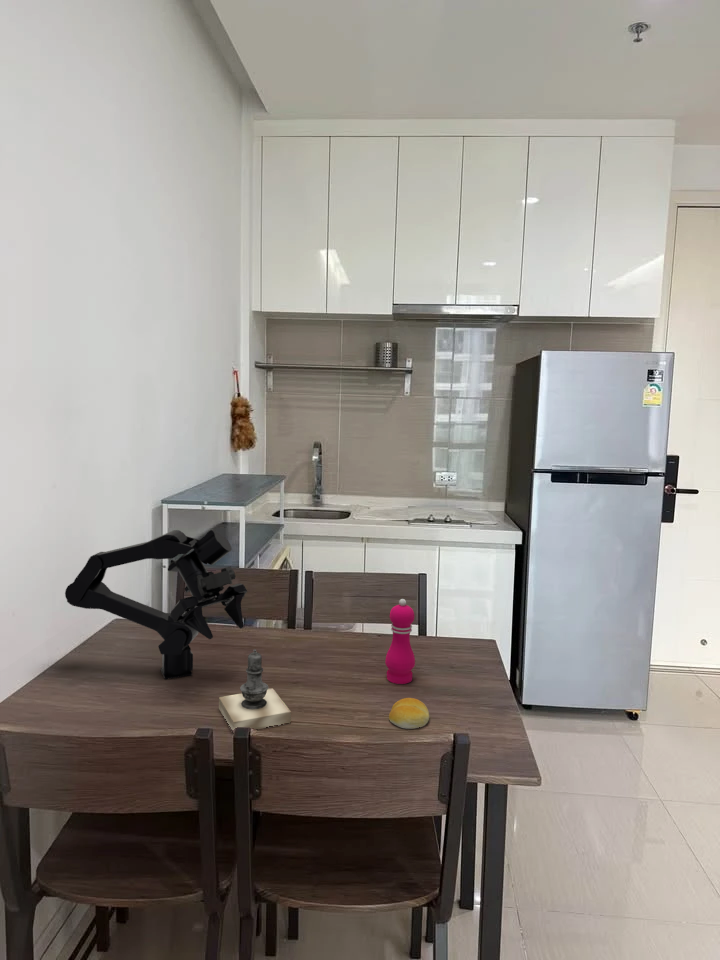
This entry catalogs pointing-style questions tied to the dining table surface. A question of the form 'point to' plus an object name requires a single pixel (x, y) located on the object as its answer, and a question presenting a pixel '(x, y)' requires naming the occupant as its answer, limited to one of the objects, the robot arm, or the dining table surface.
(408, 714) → the bread roll
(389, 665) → the pepper mill
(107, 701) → the dining table surface
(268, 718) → the plate
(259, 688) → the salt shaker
